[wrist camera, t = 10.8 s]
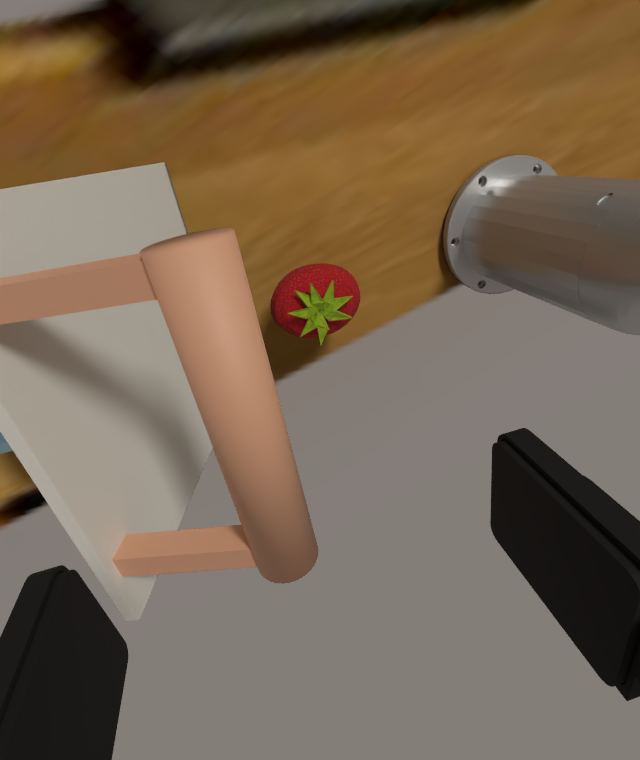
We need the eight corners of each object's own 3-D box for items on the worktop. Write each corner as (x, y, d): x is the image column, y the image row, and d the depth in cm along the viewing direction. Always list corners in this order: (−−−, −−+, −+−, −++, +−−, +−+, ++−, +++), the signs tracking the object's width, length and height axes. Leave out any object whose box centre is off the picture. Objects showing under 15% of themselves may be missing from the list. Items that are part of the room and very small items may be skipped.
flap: (154, 164, 26) (291, 136, 25) (228, 392, 33) (335, 378, 32) (-153, 215, 10) (193, 143, 9) (123, 625, 18) (325, 614, 16)
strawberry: (346, 303, 42) (383, 340, 33) (272, 325, 41) (290, 368, 33) (334, 242, 39) (372, 265, 30) (254, 264, 38) (269, 294, 30)
